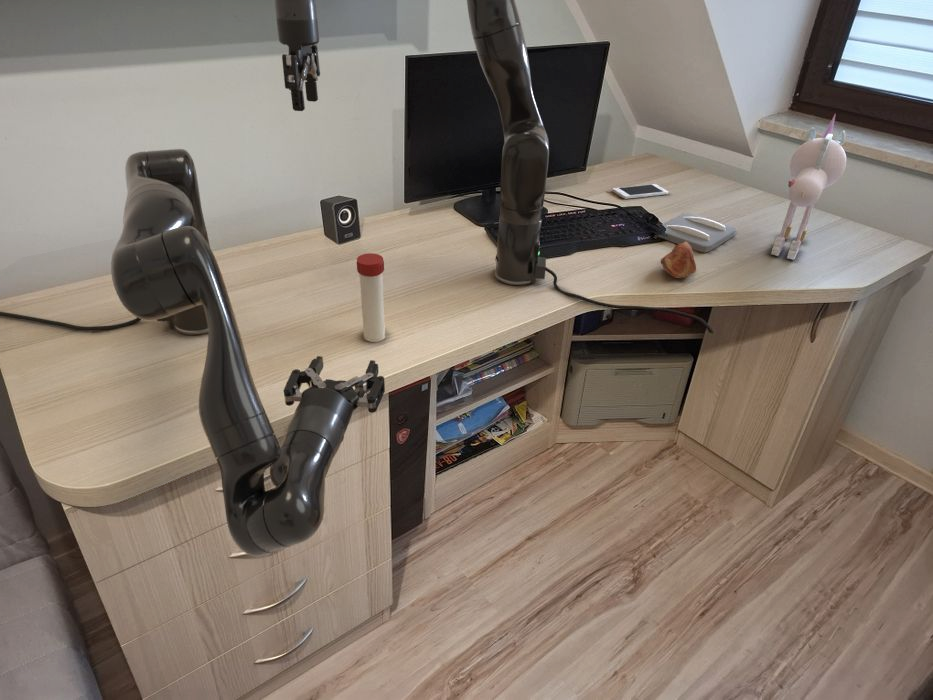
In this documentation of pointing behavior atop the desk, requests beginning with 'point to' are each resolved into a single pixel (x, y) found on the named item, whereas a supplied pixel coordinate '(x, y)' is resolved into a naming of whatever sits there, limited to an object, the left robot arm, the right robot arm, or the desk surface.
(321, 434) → the left robot arm
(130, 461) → the desk surface
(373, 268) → the lid
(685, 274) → the fossil
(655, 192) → the smartphone
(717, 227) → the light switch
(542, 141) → the right robot arm
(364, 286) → the jar
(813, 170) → the toy
